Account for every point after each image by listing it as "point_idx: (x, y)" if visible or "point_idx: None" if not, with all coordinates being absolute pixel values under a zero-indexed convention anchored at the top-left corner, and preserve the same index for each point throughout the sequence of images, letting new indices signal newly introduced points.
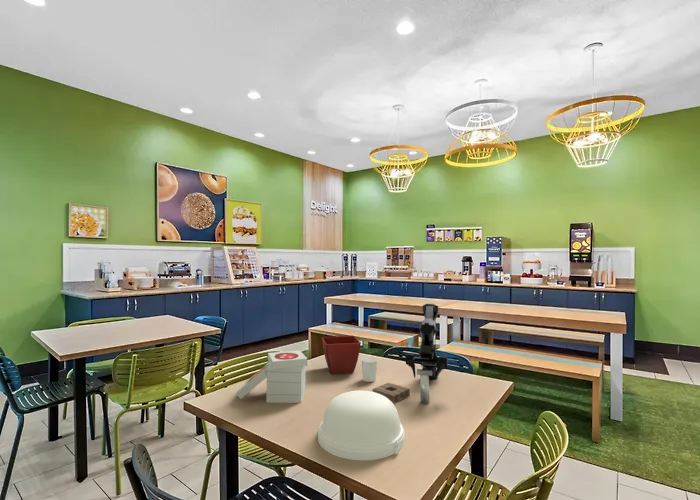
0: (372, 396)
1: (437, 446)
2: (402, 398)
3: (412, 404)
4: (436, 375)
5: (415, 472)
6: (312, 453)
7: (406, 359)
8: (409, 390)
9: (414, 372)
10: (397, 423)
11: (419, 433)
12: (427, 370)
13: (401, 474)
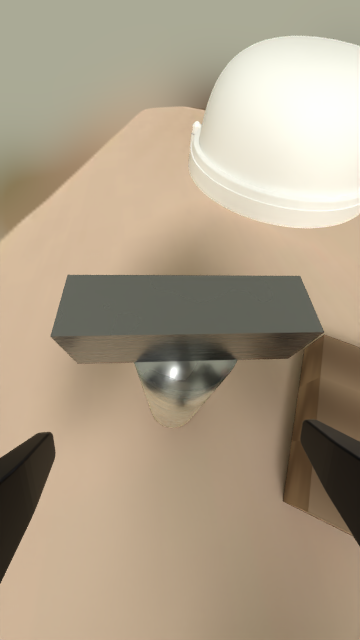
0: (298, 43)
1: (121, 168)
2: (296, 413)
3: None
4: (10, 460)
5: (156, 126)
6: None
7: None
8: (301, 503)
9: (355, 450)
10: (206, 109)
11: (163, 195)
12: (141, 306)
13: (174, 123)
